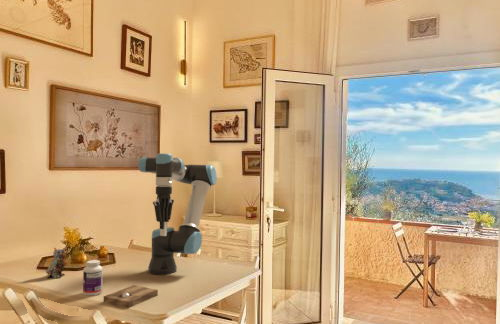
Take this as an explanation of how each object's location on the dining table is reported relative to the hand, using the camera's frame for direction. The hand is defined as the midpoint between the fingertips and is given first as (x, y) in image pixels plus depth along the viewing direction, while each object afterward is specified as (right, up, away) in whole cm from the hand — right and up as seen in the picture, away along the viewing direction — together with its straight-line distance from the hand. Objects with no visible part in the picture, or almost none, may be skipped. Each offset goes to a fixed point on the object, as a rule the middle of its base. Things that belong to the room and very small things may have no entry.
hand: (163, 235), depth 197 cm
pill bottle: (-29, -24, -11) cm, 40 cm away
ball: (-12, -24, -21) cm, 34 cm away
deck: (-10, -24, -17) cm, 32 cm away
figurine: (-58, -24, +15) cm, 64 cm away
